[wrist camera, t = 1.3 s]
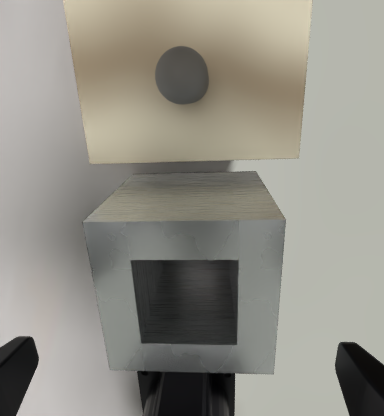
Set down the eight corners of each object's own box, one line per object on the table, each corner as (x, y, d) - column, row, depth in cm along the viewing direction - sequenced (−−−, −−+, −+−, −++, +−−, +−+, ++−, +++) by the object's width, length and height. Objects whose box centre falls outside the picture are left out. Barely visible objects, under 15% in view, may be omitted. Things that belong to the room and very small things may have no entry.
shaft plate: (293, 154, 14) (331, 180, 10) (97, 160, 15) (47, 186, 11) (306, -15, 12) (365, -86, 7) (72, 1, 13) (-6, -54, 8)
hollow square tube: (252, 278, 17) (273, 374, 11) (144, 277, 18) (110, 370, 12) (255, 171, 15) (285, 219, 9) (132, 174, 15) (82, 222, 9)
